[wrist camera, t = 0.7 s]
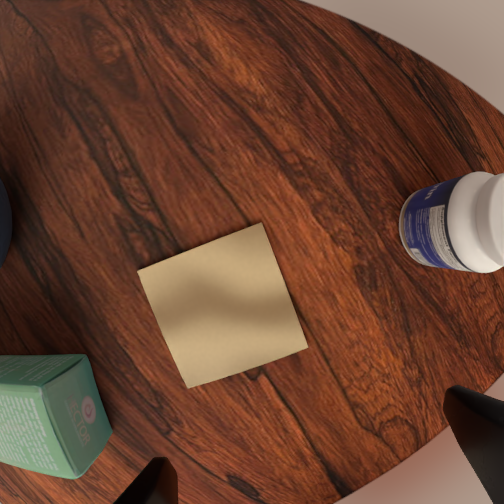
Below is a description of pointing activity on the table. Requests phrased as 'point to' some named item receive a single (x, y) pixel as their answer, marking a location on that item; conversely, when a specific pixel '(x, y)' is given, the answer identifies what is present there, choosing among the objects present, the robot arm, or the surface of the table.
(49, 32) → the table surface
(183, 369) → the sticky note
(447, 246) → the pill bottle
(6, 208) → the decorative stone
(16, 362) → the box
